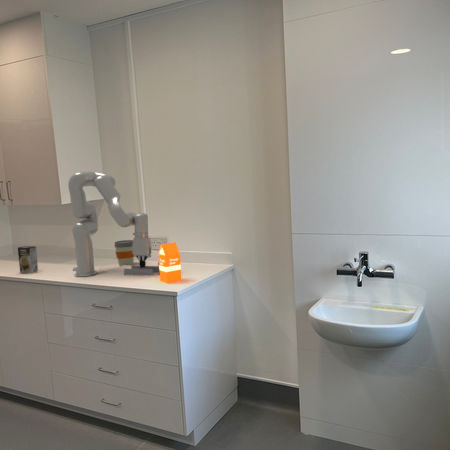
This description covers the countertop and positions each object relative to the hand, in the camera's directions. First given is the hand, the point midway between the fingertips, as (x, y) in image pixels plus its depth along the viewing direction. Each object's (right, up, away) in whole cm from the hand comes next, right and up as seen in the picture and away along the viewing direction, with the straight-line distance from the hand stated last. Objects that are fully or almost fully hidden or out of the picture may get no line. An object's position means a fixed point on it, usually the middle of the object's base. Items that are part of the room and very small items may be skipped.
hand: (142, 267), depth 266 cm
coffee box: (-75, -6, +24) cm, 79 cm away
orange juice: (+18, -6, -19) cm, 27 cm away
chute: (0, -4, 0) cm, 4 cm away
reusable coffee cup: (-16, -2, +33) cm, 36 cm away
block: (+14, -3, -5) cm, 15 cm away
